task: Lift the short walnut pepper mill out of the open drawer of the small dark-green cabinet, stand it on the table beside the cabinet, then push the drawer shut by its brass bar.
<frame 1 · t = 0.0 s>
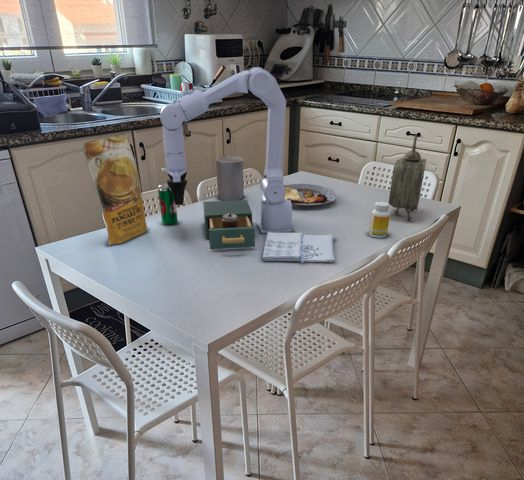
hand: (179, 200, 143), 10 cm above the table, tool pointing down, fingers open, 7 cm apart
open sketchbook: (299, 250, 138), on the table
cabinet: (227, 230, 151), on the table
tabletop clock: (401, 216, 162), on the table
food plate: (303, 200, 177), on the table
soda can: (170, 223, 156), on the table
supplement bottle: (377, 235, 147), on the table
pancake mix bag: (126, 237, 147), on the table
drawer: (230, 233, 139), point 4 cm above the table, slide at 9.0 cm, touching pepper mill
pillar candle: (230, 198, 179), on the table
pepper mill: (230, 236, 141), point 2 cm above the table, touching drawer
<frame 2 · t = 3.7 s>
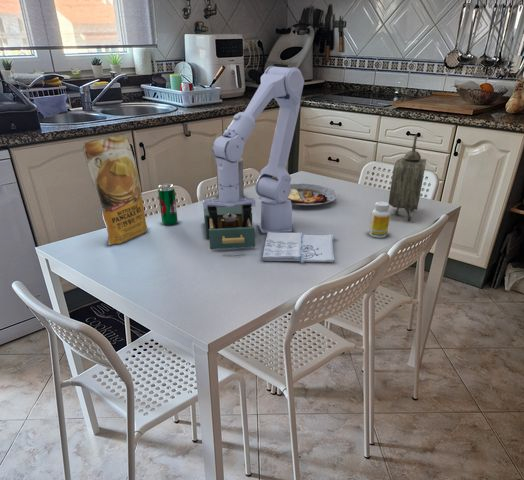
hand: (230, 231, 140), 3 cm above the table, tool pointing down, fingers open, 7 cm apart
drawer: (230, 233, 139), point 4 cm above the table, slide at 9.0 cm, touching gripper, pepper mill
everything else where it was.
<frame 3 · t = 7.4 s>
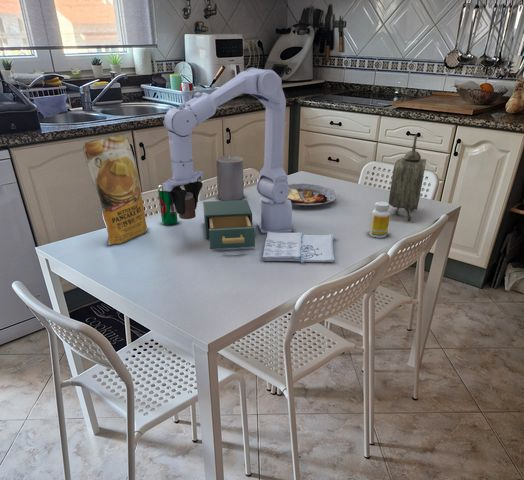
hand: (186, 211, 134), 10 cm above the table, tool pointing down, fingers closed on pepper mill, 4 cm apart
drawer: (230, 233, 139), point 4 cm above the table, slide at 9.0 cm
pepper mill: (187, 216, 135), point 9 cm above the table, touching gripper
everything else where it was.
when the fingers open (1 cm above the table, at t = 10.5 s): pepper mill stays where it is, on the table.
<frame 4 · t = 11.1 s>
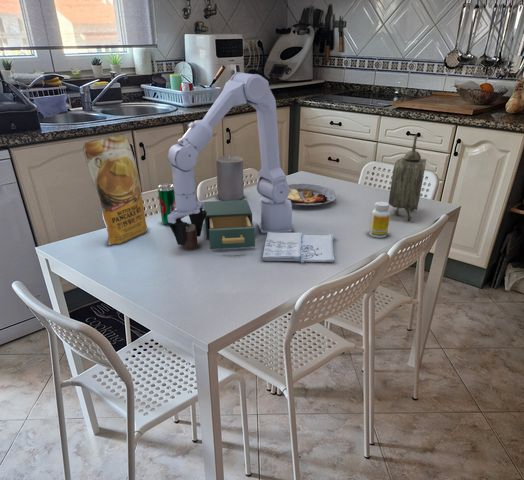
hand: (189, 240, 139), 2 cm above the table, tool pointing down, fingers open, 7 cm apart
pepper mill: (190, 246, 140), on the table
everything else where it was.
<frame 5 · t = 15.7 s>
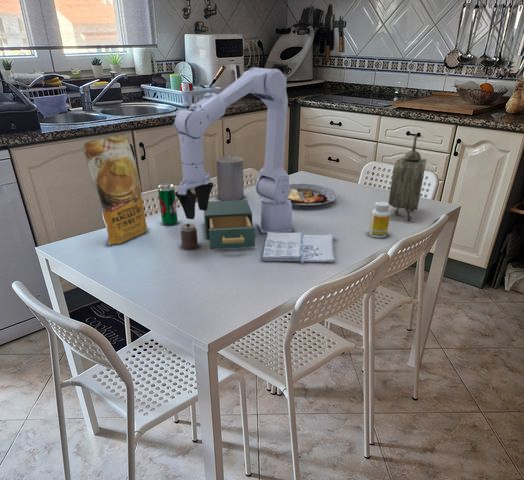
hand: (196, 214, 132), 10 cm above the table, tool pointing down, fingers open, 7 cm apart
nothing on the table moved.
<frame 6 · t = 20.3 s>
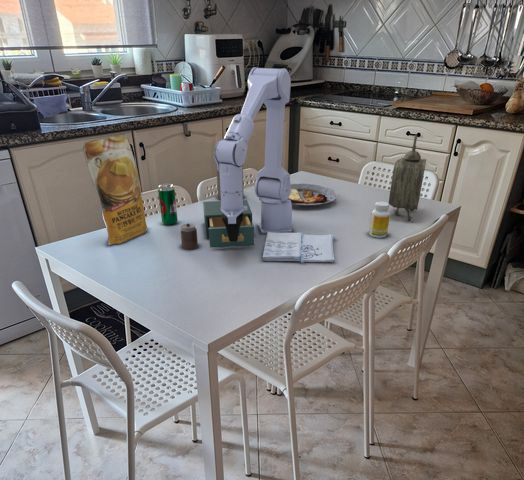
hand: (233, 240, 132), 4 cm above the table, tool pointing down, fingers closed
drawer: (230, 231, 140), point 4 cm above the table, slide at 7.9 cm, touching gripper
everything else where it was.
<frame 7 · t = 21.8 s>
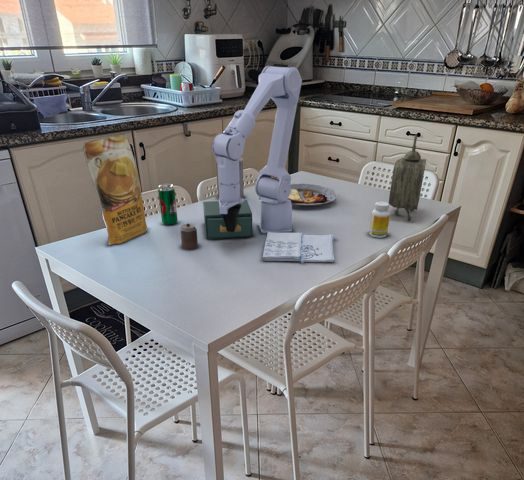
hand: (231, 231, 138), 4 cm above the table, tool pointing down, fingers closed, pressing on drawer
drawer: (228, 223, 146), point 4 cm above the table, slide at 0.2 cm, touching gripper
everything else where it was.
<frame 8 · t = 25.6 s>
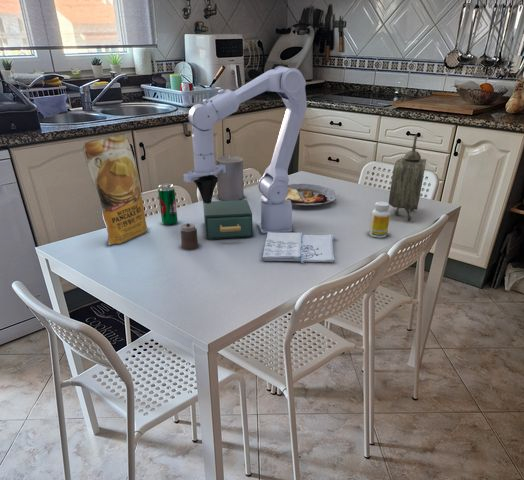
hand: (207, 202, 140), 10 cm above the table, tool pointing down, fingers closed
drawer: (228, 222, 146), point 4 cm above the table, slide at 0.0 cm, touching cabinet
everything else where it was.
at the end: pepper mill inside the target area (0.0 cm from its centre), on the table; pepper mill tilted 0°; drawer slide at 0.0 cm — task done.
